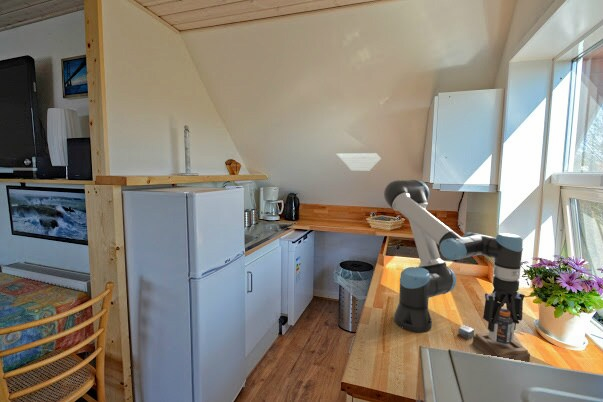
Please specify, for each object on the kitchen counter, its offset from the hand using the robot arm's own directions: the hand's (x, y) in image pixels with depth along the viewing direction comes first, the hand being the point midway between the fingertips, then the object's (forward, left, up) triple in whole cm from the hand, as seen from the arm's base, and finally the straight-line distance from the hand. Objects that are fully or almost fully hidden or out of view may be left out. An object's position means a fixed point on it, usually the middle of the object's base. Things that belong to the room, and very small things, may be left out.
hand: (500, 338), depth 102 cm
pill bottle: (0, 0, -1) cm, 1 cm away
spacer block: (-5, +11, -5) cm, 13 cm away
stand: (0, 0, -5) cm, 5 cm away
